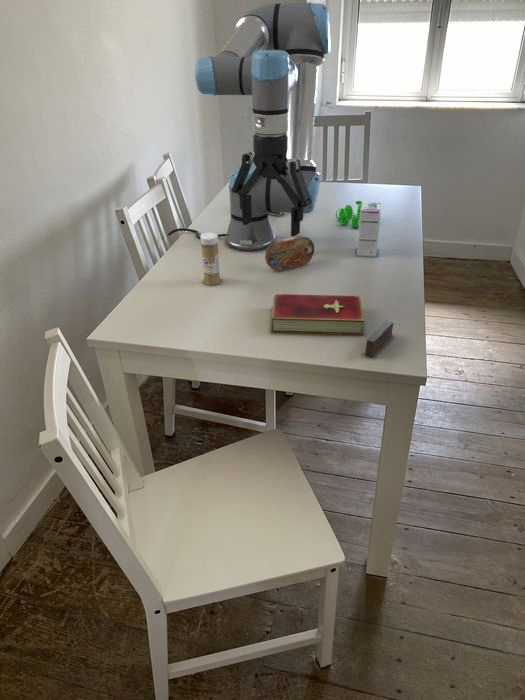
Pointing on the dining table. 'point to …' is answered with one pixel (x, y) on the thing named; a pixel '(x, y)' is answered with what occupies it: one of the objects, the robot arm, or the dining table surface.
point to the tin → (289, 253)
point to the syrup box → (368, 229)
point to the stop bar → (379, 338)
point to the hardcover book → (317, 314)
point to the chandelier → (349, 215)
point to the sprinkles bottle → (210, 258)
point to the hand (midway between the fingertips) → (270, 228)
